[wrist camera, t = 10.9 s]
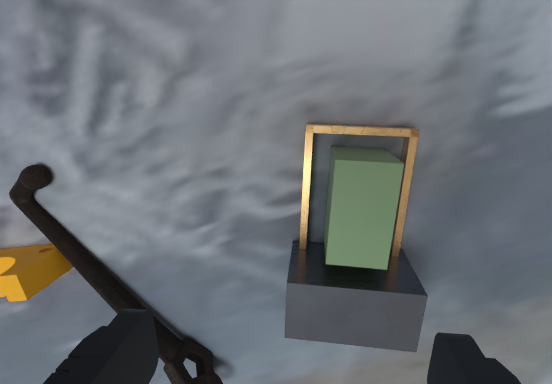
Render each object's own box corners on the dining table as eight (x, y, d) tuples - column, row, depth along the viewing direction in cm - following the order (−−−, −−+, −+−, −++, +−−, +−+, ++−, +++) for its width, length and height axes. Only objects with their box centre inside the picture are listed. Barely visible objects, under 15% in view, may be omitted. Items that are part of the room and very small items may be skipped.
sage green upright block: (331, 145, 27) (335, 159, 21) (385, 148, 27) (404, 163, 21) (323, 231, 29) (325, 264, 24) (373, 235, 29) (386, 269, 23)
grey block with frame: (298, 122, 27) (293, 132, 20) (421, 127, 26) (459, 139, 19) (291, 286, 31) (284, 337, 25) (394, 295, 30) (416, 352, 24)
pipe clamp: (-7, 284, 36) (-73, 323, 30) (-23, 251, 35) (-95, 284, 29) (84, 277, 34) (34, 316, 28) (71, 241, 33) (15, 274, 27)
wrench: (58, 155, 33) (250, 361, 35) (35, 185, 34) (219, 379, 37) (8, 165, 28) (234, 404, 30) (-16, 199, 29) (200, 422, 32)
